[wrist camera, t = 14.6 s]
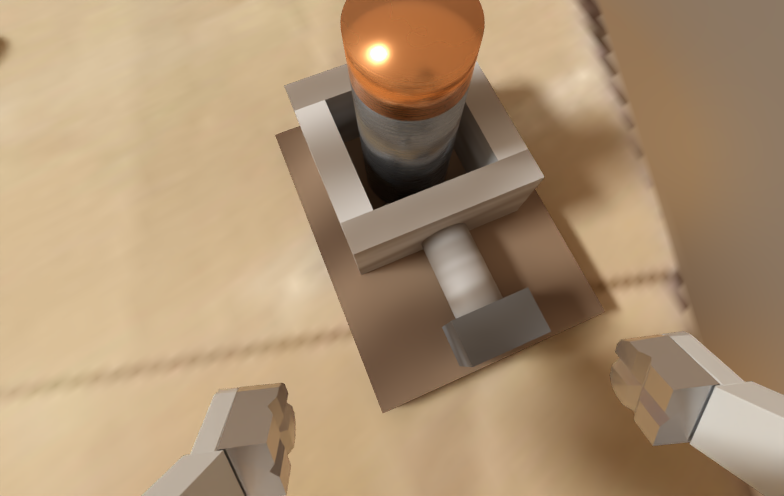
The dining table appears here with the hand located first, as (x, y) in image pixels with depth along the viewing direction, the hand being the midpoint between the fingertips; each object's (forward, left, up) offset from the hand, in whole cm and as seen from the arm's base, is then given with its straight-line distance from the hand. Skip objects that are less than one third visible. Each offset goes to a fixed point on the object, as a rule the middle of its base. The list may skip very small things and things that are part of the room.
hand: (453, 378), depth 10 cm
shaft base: (+7, -3, -11) cm, 13 cm away
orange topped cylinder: (+10, -3, -9) cm, 14 cm away
